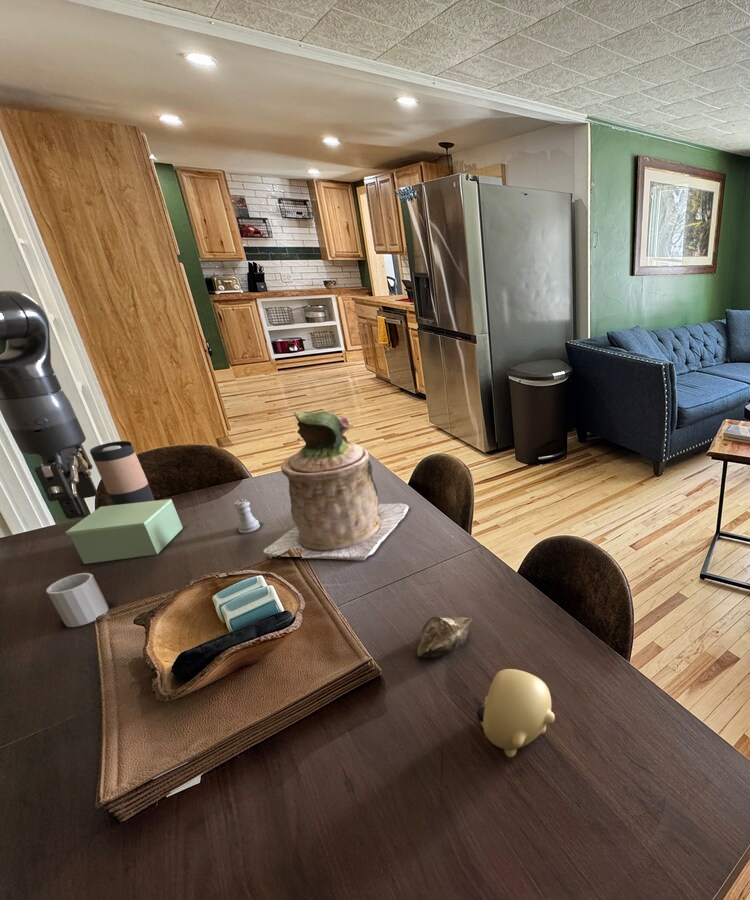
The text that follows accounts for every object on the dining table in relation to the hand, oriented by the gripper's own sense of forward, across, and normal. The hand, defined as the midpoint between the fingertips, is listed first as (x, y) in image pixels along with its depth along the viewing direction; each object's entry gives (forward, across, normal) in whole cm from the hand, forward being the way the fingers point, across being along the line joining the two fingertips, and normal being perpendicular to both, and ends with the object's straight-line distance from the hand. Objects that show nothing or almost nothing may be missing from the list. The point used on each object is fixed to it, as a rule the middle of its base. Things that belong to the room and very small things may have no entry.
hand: (83, 506), depth 84 cm
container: (+23, -28, -3) cm, 36 cm away
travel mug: (+23, -45, -4) cm, 51 cm away
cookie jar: (+23, -6, +38) cm, 45 cm away
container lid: (+15, -28, -3) cm, 32 cm away
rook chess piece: (+23, -21, +19) cm, 37 cm away
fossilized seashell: (+22, +44, +48) cm, 69 cm away
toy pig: (+22, +66, +51) cm, 87 cm away
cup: (+23, -1, -6) cm, 24 cm away
